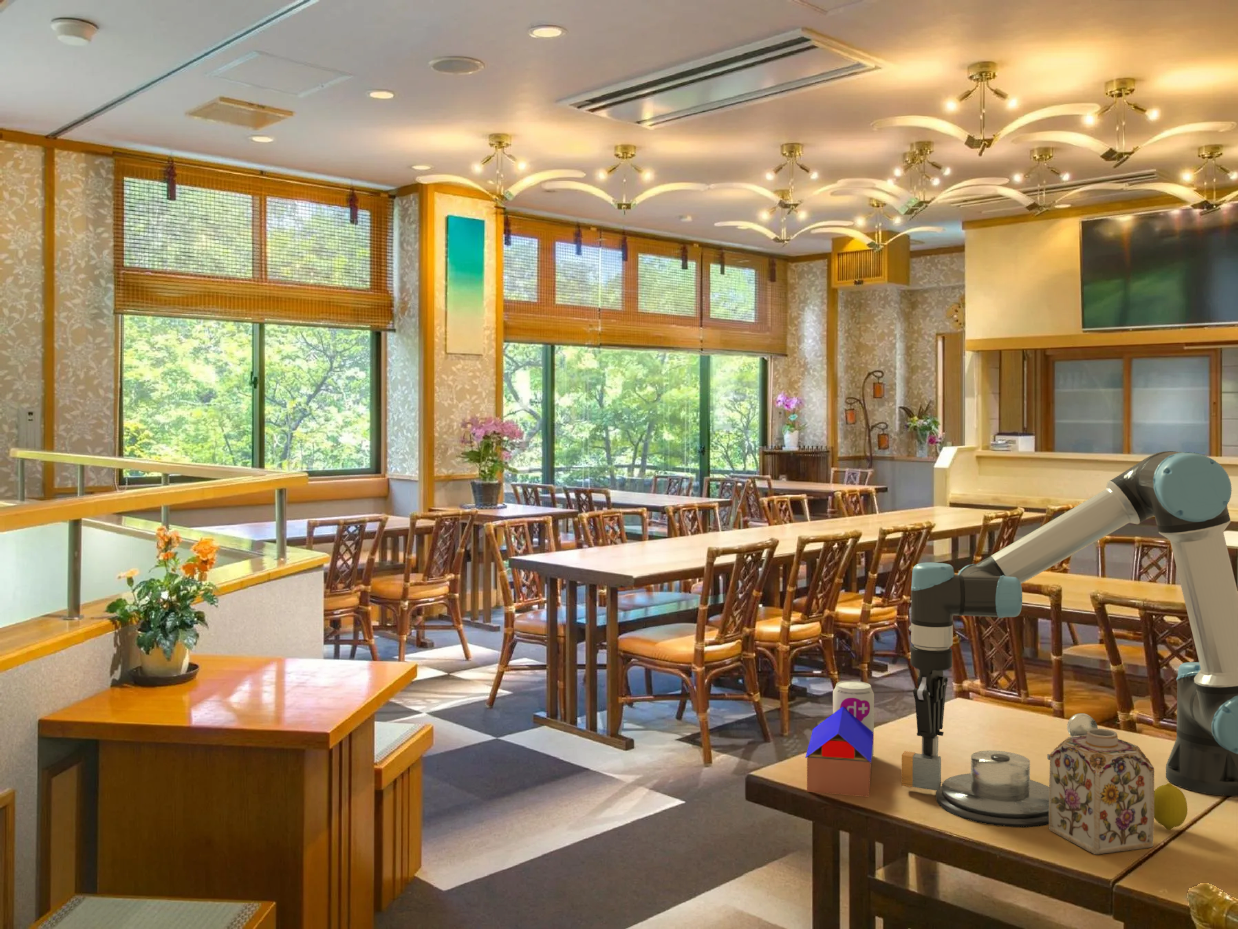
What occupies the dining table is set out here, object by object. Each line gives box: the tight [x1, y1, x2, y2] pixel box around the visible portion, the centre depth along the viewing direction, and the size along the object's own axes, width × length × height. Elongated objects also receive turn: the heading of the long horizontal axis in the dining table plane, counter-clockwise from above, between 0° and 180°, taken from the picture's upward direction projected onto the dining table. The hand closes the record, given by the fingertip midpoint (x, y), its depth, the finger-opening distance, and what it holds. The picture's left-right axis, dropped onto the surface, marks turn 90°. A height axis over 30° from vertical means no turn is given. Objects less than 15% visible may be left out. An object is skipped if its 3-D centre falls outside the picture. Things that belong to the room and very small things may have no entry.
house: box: [805, 706, 873, 797], centre depth 209 cm, size 12×20×12 cm, turn 166°
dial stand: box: [1047, 713, 1099, 761], centre depth 196 cm, size 8×4×16 cm, turn 86°
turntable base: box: [935, 785, 1049, 828], centre depth 194 cm, size 22×22×1 cm
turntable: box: [900, 750, 1049, 818], centre depth 196 cm, size 27×20×6 cm
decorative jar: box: [1048, 728, 1155, 856], centre depth 178 cm, size 12×12×18 cm
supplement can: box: [832, 680, 875, 758], centre depth 222 cm, size 8×8×15 cm
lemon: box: [1154, 782, 1188, 831], centre depth 182 cm, size 6×6×8 cm
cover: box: [970, 750, 1031, 802], centre depth 194 cm, size 10×10×6 cm
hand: (929, 770), depth 203 cm, fingers closed
